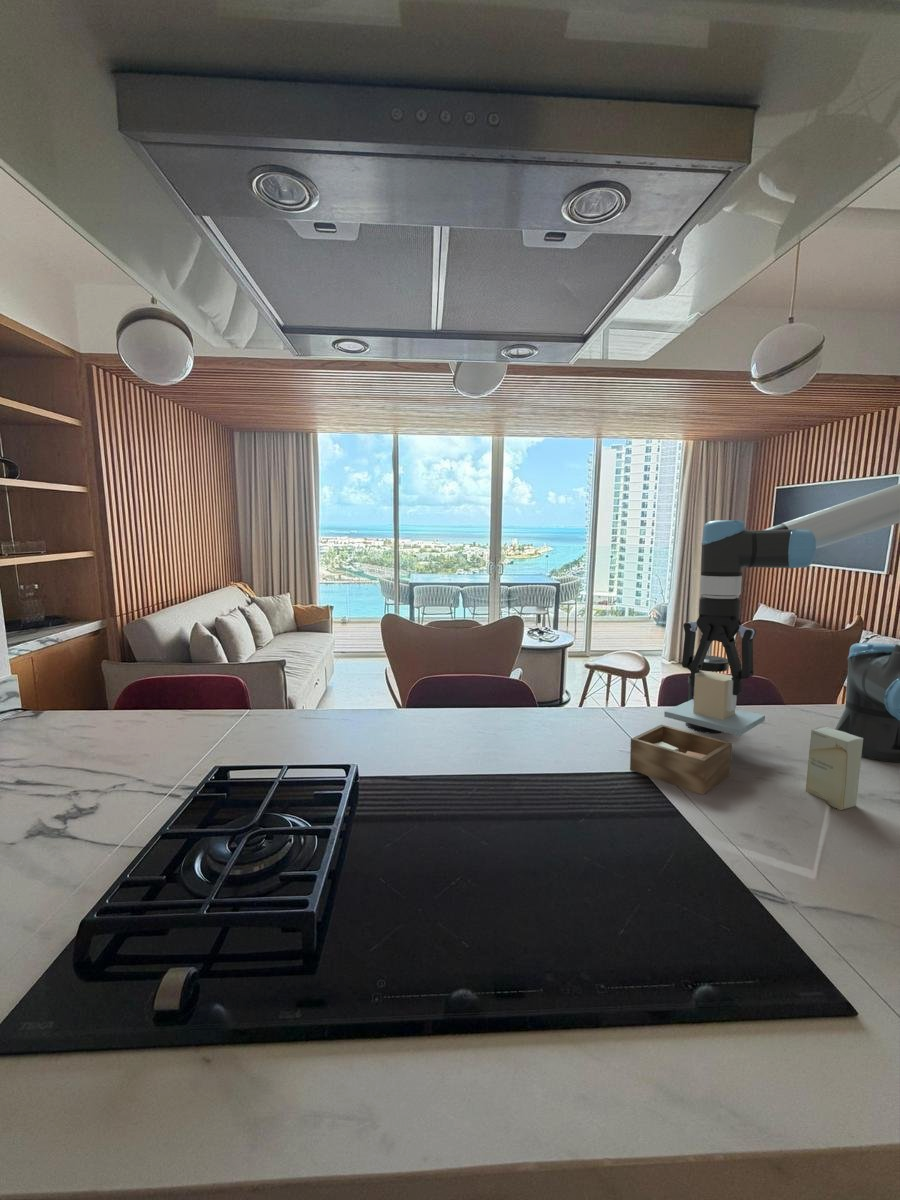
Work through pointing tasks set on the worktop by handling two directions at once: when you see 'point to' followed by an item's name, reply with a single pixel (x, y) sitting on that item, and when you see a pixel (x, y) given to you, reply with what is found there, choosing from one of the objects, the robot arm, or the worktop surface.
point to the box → (681, 758)
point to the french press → (713, 666)
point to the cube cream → (666, 746)
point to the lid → (714, 707)
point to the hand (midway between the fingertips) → (714, 705)
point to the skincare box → (834, 766)
